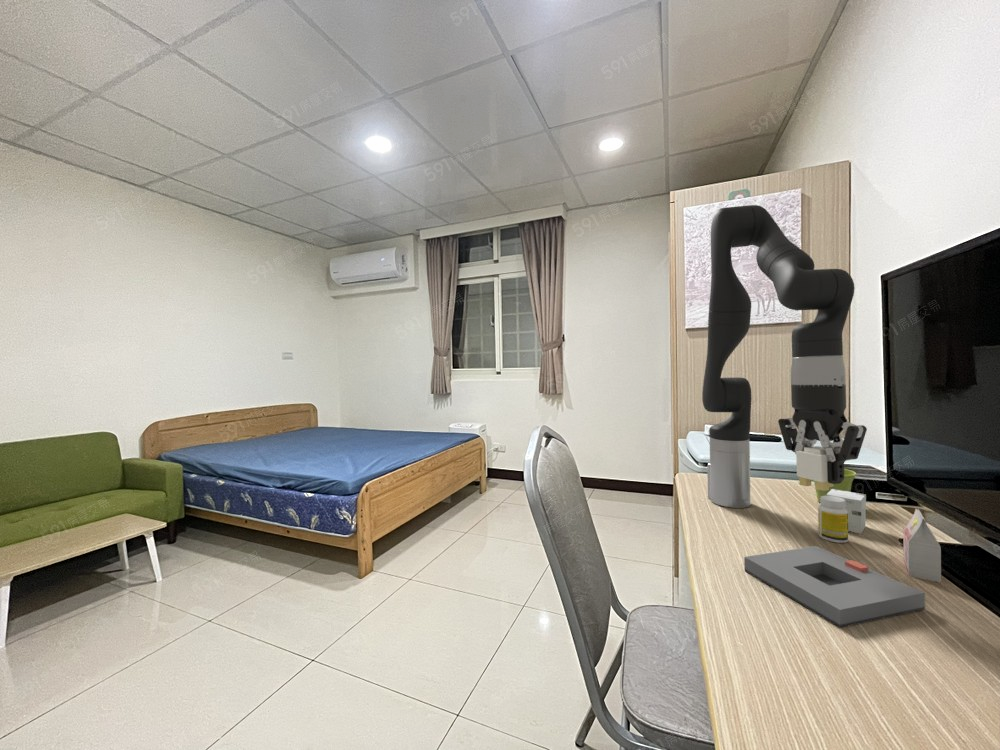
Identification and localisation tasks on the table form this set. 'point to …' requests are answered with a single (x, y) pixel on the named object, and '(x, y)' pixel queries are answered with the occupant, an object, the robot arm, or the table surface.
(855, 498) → the skincare box
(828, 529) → the supplement bottle
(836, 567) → the socket
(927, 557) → the tea bag
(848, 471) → the plant pot
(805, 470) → the plug
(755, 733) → the table surface
